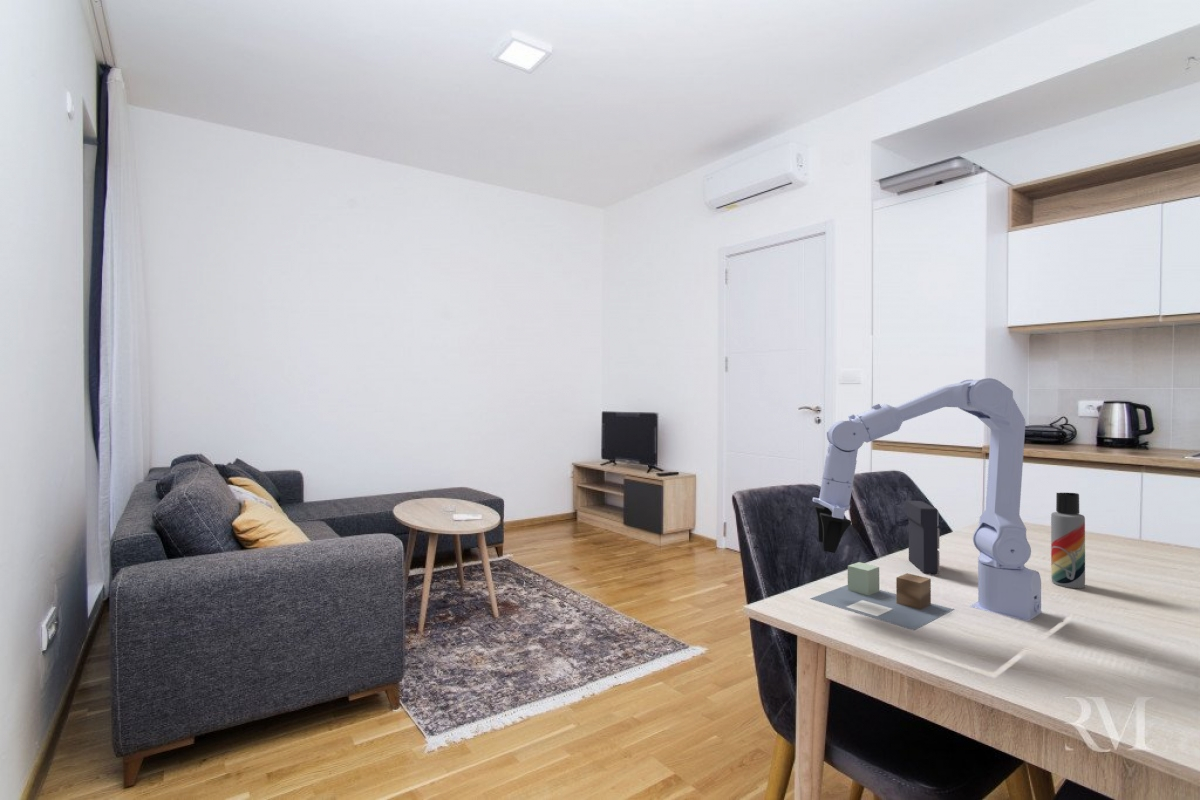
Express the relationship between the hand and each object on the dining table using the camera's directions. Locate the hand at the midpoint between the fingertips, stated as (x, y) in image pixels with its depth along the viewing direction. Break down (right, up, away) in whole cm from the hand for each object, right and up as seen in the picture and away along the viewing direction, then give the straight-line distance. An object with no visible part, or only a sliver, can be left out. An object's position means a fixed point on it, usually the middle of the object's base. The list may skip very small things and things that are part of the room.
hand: (826, 546), depth 117 cm
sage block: (+9, -10, +3) cm, 14 cm away
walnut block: (+15, -10, -5) cm, 19 cm away
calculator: (+31, -11, +22) cm, 40 cm away
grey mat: (+9, -11, -4) cm, 14 cm away
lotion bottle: (+55, -10, +8) cm, 57 cm away
